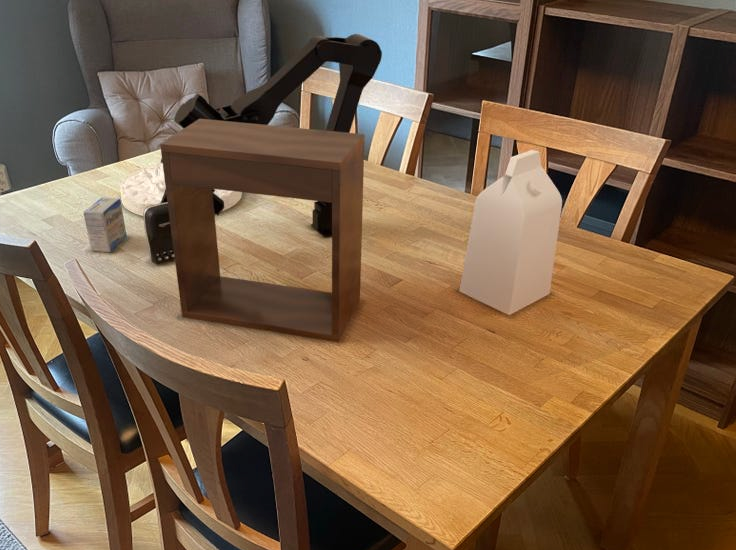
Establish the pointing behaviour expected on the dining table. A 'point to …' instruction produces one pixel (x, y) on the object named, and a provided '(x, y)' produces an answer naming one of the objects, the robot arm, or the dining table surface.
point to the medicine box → (105, 224)
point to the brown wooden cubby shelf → (275, 178)
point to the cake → (157, 190)
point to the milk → (513, 237)
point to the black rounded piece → (158, 233)
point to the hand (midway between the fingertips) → (167, 221)
